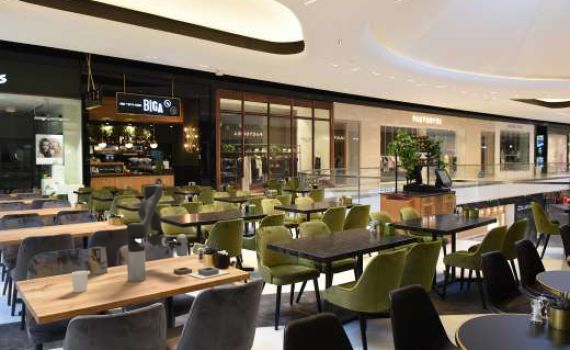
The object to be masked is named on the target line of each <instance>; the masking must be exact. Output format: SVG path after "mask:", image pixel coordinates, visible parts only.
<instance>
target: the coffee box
mask: <svg viewBox="0 0 570 350" xmlns="http://www.w3.org/2000/svg"><path fill="white" fill-rule="evenodd" d="M107 249H108V248H107V246H92V247H88V263H89V274H90V273H91V275H92V274H93V275H103V273H104V274H106V273H108V272H107V271H108V252H107ZM105 272H106V273H105Z"/></svg>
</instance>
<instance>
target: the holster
mask: <svg viewBox="0 0 570 350" xmlns="http://www.w3.org/2000/svg"><path fill="white" fill-rule="evenodd" d="M173 273H174V274H177V275H187V274H191V273H193V269H192V268H190V267H186V266H184V267H179V268H174V269H173Z"/></svg>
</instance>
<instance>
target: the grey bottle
mask: <svg viewBox="0 0 570 350" xmlns="http://www.w3.org/2000/svg"><path fill="white" fill-rule="evenodd" d="M187 240H188V237H186V234H183V233H181V234H177V242H180V243H181V246H176V256H177V257H180V258H181V257H187V256H188V245H187Z"/></svg>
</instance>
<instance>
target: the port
mask: <svg viewBox="0 0 570 350" xmlns="http://www.w3.org/2000/svg"><path fill="white" fill-rule="evenodd" d="M230 273H231V272H230V271H226V270H222V269H220V268H216V267H212V266H208V267H203V268H202V267H201V268H197V271H196V272H191V273H186V276H189V277H193V278H197V279H199V280H205V279H210V278H214V277H218V276H224V275H228V274H230Z"/></svg>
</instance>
